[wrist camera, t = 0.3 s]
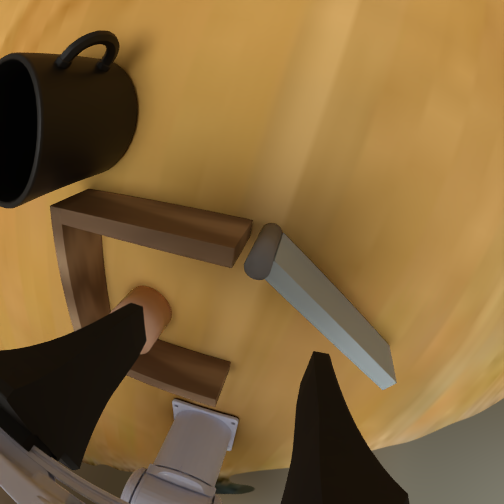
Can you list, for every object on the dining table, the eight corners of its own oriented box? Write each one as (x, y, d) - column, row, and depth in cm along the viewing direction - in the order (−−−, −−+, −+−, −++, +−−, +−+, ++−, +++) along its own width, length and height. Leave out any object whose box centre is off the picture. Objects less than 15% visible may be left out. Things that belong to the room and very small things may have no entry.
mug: (189, 85, 17) (98, 70, 9) (94, 196, 22) (11, 239, 14) (118, 14, 15) (31, -10, 7) (43, 123, 20) (-37, 142, 12)
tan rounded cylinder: (172, 331, 26) (153, 360, 22) (131, 317, 26) (110, 343, 23) (171, 293, 24) (149, 322, 20) (127, 280, 24) (102, 304, 21)
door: (390, 344, 21) (399, 390, 17) (376, 353, 22) (382, 398, 18) (271, 218, 19) (256, 250, 15) (257, 232, 20) (238, 266, 15)
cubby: (229, 370, 26) (214, 407, 22) (105, 327, 28) (81, 353, 24) (252, 220, 20) (234, 248, 15) (88, 188, 21) (50, 205, 17)
